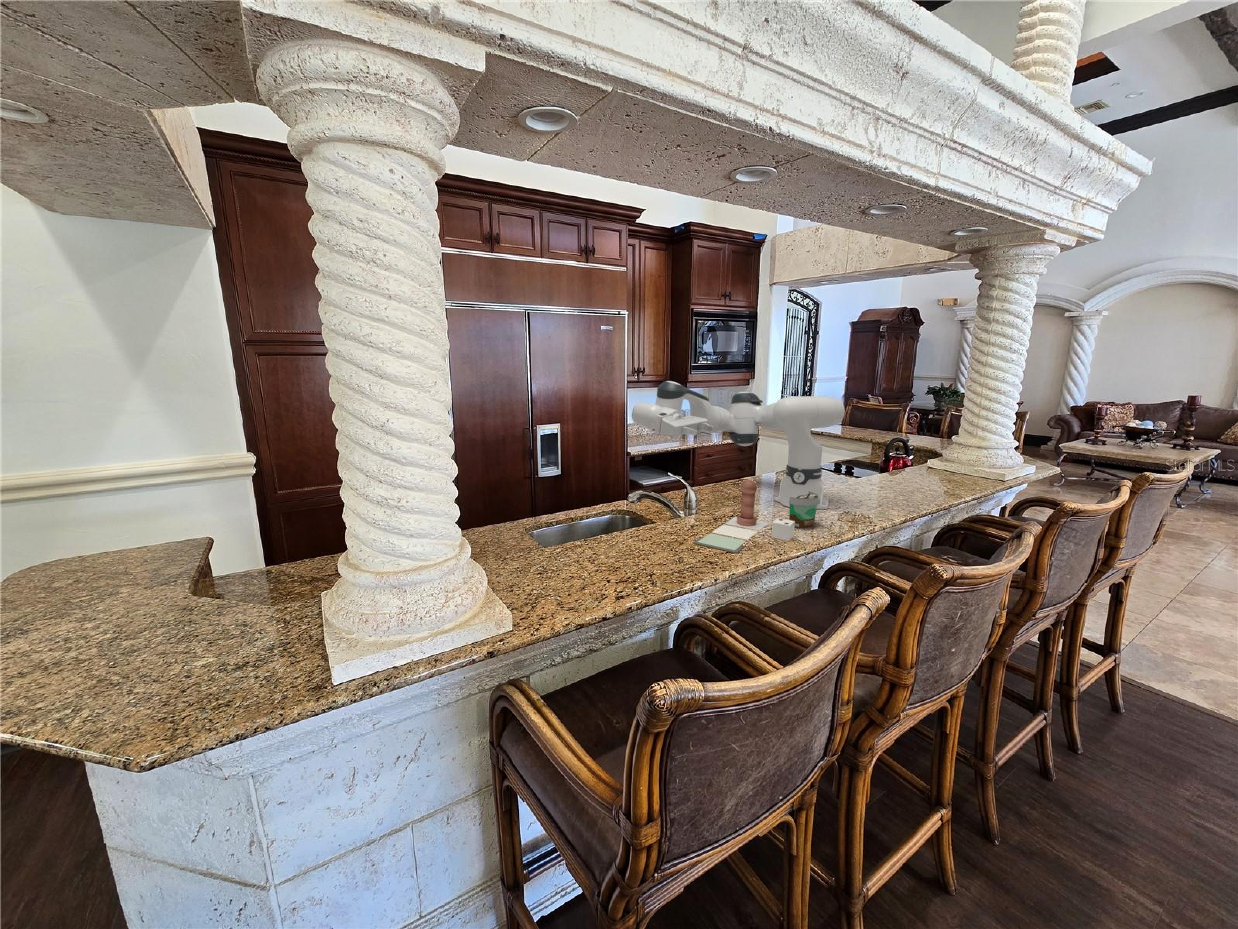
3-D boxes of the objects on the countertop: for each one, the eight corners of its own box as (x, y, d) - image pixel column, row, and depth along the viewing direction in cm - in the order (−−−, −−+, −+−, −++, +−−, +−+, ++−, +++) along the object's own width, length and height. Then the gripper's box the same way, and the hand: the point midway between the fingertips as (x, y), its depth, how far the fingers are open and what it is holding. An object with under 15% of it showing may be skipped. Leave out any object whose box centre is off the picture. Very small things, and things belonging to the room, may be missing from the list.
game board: (733, 516, 165) (733, 515, 165) (772, 523, 158) (772, 522, 158) (692, 543, 140) (692, 542, 140) (736, 553, 133) (736, 552, 133)
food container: (805, 533, 150) (807, 501, 148) (786, 528, 154) (789, 497, 152) (824, 525, 158) (828, 494, 156) (806, 520, 162) (809, 490, 160)
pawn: (740, 519, 161) (743, 477, 158) (759, 522, 158) (762, 479, 155) (733, 524, 156) (736, 480, 154) (752, 527, 153) (755, 483, 150)
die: (776, 534, 149) (777, 517, 148) (793, 537, 146) (794, 520, 145) (771, 538, 145) (772, 522, 144) (788, 542, 142) (790, 525, 141)
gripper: (686, 427, 180) (719, 436, 171) (651, 434, 165) (686, 444, 157) (688, 409, 178) (722, 418, 170) (654, 415, 163) (689, 425, 155)
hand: (704, 431), depth 163 cm, fingers open, 8 cm apart
